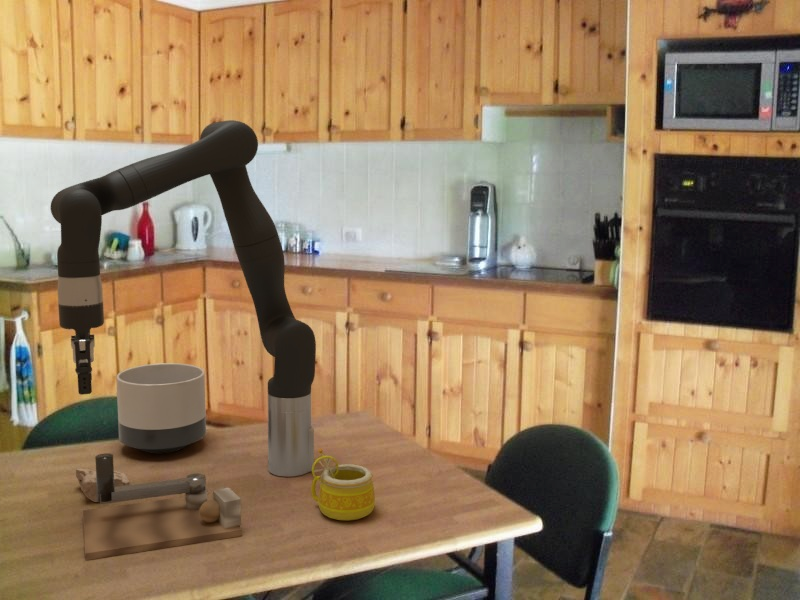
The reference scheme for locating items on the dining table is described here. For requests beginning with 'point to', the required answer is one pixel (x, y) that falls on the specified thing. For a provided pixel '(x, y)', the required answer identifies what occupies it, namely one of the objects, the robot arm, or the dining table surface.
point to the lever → (140, 491)
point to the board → (161, 523)
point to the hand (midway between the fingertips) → (85, 387)
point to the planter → (161, 406)
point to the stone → (90, 485)
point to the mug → (344, 490)
